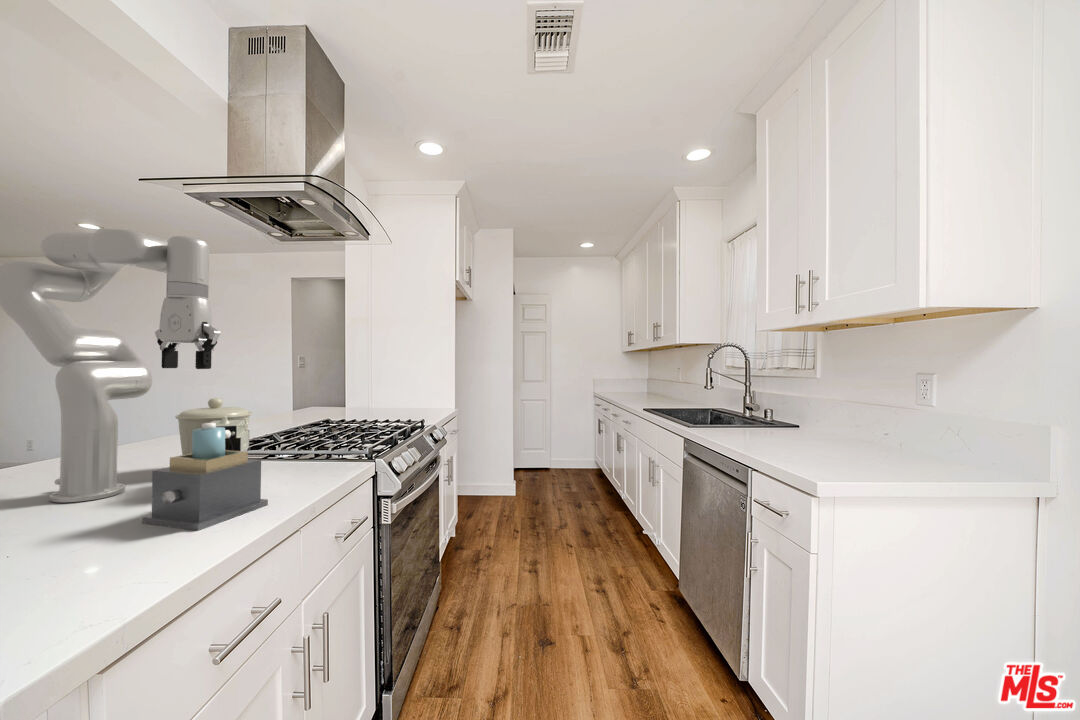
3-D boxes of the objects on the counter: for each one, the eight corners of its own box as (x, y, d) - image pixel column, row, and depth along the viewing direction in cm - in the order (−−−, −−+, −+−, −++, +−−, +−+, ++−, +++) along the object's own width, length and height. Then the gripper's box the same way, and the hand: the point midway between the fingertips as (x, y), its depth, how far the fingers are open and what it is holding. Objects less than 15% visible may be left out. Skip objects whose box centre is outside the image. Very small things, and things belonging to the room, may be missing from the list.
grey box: (138, 524, 88) (140, 460, 88) (218, 499, 104) (219, 445, 104) (194, 531, 85) (196, 465, 85) (267, 504, 101) (268, 449, 101)
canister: (156, 476, 123) (158, 399, 123) (213, 462, 141) (214, 395, 141) (215, 480, 121) (216, 401, 121) (265, 465, 139) (266, 396, 139)
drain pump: (185, 466, 93) (185, 424, 93) (218, 459, 100) (218, 420, 100) (205, 468, 92) (205, 426, 91) (237, 461, 98) (237, 421, 98)
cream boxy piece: (239, 492, 110) (240, 419, 110) (196, 496, 106) (198, 421, 106) (251, 475, 126) (252, 412, 126) (214, 478, 123) (215, 413, 123)
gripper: (140, 291, 100) (139, 368, 100) (201, 289, 96) (200, 369, 96) (175, 296, 108) (173, 367, 108) (233, 294, 104) (232, 369, 103)
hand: (186, 368), depth 102 cm, fingers open, 9 cm apart
